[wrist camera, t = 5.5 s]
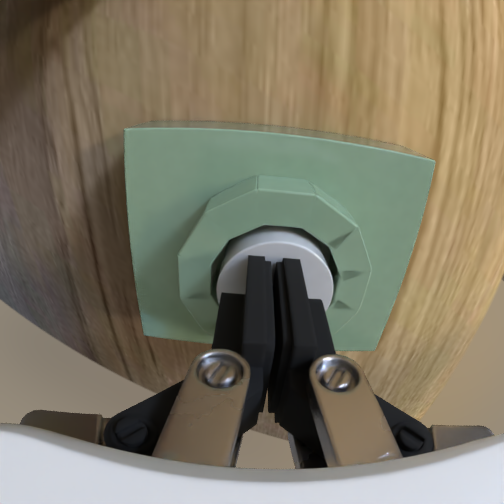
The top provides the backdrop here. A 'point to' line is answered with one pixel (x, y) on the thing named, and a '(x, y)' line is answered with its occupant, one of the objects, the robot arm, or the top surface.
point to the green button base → (268, 217)
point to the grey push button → (276, 259)
